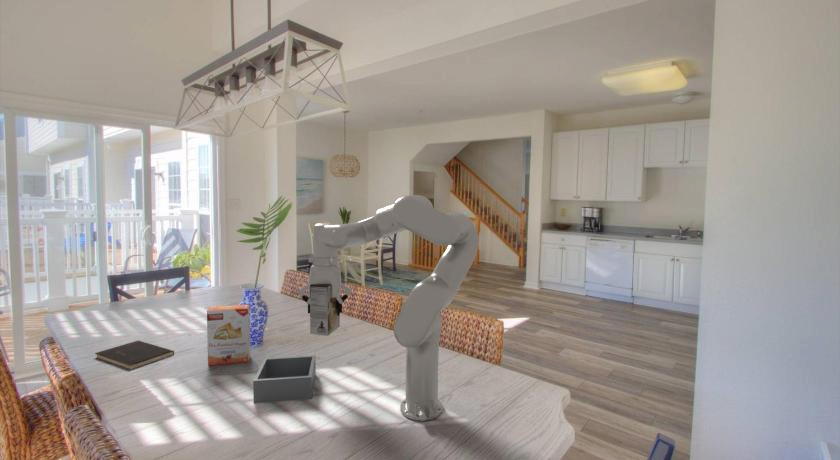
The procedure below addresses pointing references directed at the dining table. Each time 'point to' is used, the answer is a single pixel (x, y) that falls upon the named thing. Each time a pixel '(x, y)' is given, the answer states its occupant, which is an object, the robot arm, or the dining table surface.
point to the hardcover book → (134, 354)
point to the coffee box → (323, 310)
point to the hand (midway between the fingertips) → (325, 314)
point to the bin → (285, 379)
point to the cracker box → (228, 334)
